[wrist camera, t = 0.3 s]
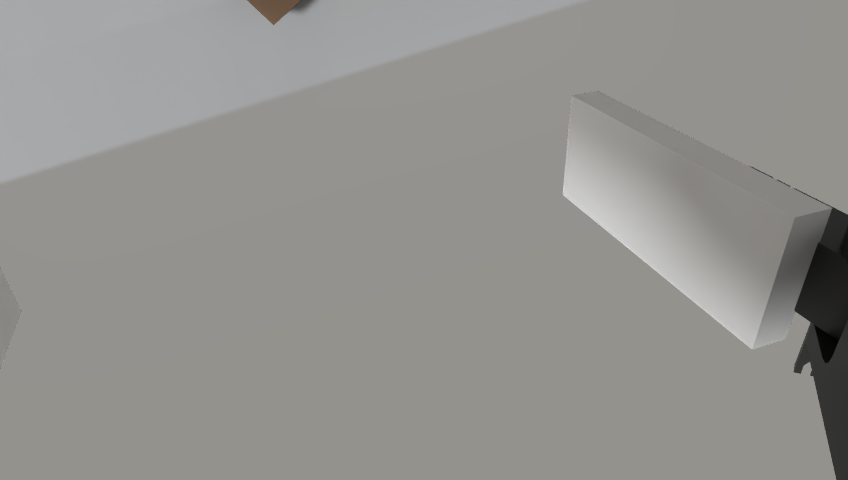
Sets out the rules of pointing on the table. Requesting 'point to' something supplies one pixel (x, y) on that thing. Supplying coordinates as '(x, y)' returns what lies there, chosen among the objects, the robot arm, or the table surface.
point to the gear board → (273, 8)
